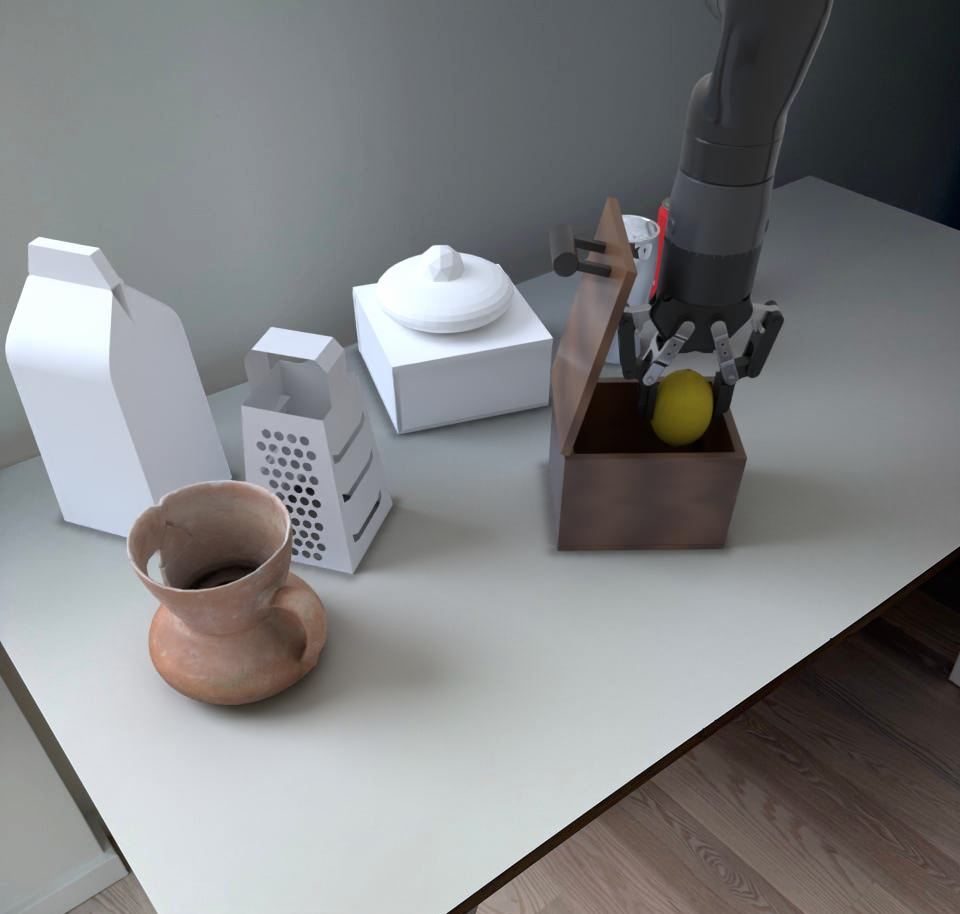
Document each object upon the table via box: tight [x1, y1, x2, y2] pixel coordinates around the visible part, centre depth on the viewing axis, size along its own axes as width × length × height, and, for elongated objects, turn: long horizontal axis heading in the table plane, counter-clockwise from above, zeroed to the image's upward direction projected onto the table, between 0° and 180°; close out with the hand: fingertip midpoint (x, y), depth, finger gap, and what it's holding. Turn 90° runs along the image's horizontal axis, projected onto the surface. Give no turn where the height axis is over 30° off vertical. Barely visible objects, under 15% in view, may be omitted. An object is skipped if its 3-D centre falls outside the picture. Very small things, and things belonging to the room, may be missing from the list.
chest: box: [547, 375, 748, 552], centre depth 88 cm, size 16×13×11 cm
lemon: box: [650, 368, 713, 447], centre depth 83 cm, size 6×6×8 cm
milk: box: [4, 236, 233, 538], centre depth 83 cm, size 12×12×26 cm
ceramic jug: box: [126, 479, 328, 706], centre depth 73 cm, size 18×14×14 cm
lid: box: [548, 196, 638, 456], centre depth 77 cm, size 17×13×6 cm
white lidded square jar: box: [352, 244, 554, 435], centre depth 101 cm, size 18×18×16 cm
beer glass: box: [605, 214, 660, 365], centre depth 106 cm, size 7×7×15 cm
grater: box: [240, 326, 394, 575], centre depth 82 cm, size 10×10×20 cm
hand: (680, 413), depth 84 cm, fingers closed on lemon, 5 cm apart
